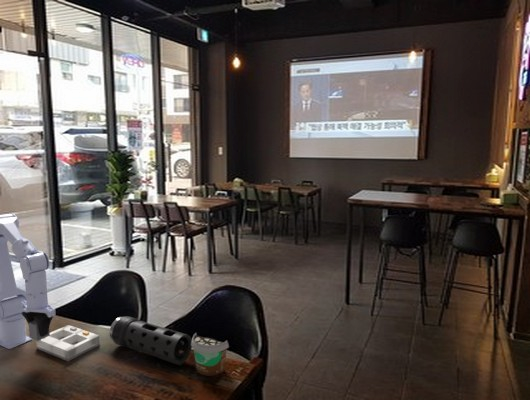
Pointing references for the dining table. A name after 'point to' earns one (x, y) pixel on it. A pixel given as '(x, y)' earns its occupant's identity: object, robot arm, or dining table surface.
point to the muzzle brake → (151, 339)
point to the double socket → (68, 342)
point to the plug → (35, 332)
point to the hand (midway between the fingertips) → (39, 333)
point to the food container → (209, 355)
